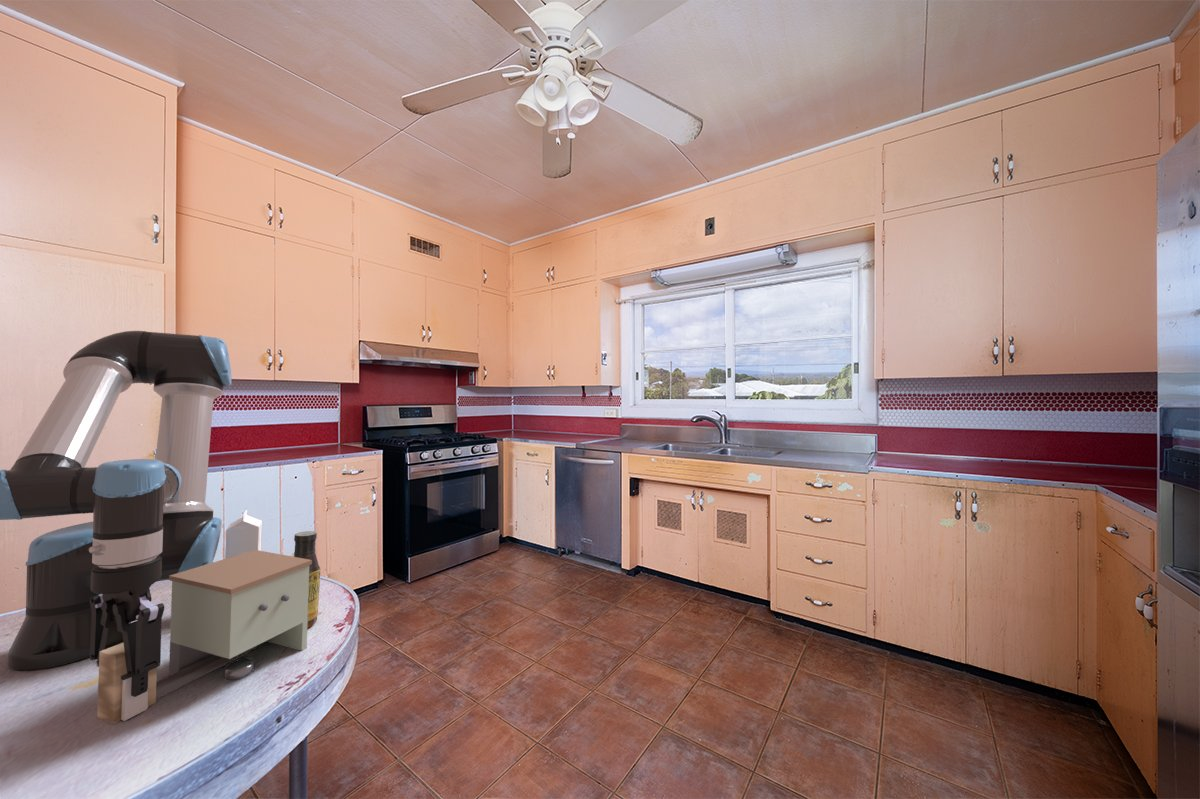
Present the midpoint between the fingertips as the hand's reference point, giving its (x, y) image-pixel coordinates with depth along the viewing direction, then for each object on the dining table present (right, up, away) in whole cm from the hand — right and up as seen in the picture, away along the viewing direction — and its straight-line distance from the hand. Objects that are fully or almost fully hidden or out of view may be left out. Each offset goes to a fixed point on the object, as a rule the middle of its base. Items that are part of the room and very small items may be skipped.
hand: (122, 709), depth 68 cm
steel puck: (+10, -1, +10) cm, 14 cm away
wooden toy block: (+3, 0, +8) cm, 9 cm away
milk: (-10, 0, +35) cm, 36 cm away
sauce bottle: (+9, -1, +27) cm, 29 cm away
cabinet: (+7, -1, +14) cm, 16 cm away
